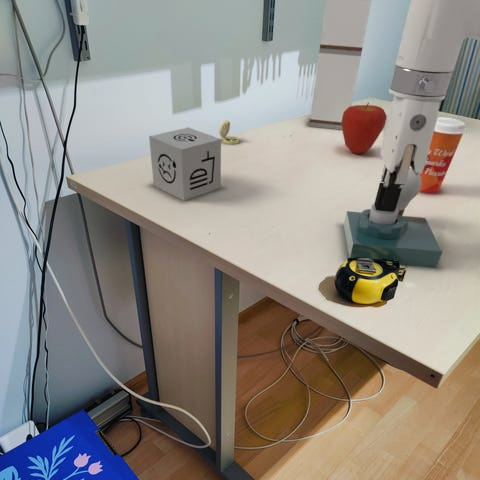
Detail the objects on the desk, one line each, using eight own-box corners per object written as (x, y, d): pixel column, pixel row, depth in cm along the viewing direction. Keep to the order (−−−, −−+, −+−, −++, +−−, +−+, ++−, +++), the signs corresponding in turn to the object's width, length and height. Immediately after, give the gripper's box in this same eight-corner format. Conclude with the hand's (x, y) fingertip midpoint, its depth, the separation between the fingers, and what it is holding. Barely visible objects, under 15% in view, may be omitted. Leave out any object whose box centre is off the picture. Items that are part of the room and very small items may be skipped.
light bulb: (405, 230, 78) (422, 177, 72) (374, 222, 80) (388, 169, 74) (412, 218, 82) (429, 167, 76) (382, 210, 84) (396, 160, 78)
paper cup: (405, 190, 93) (425, 122, 84) (410, 179, 98) (430, 114, 89) (442, 198, 90) (467, 129, 81) (445, 186, 96) (469, 120, 87)
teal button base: (420, 232, 78) (428, 207, 74) (436, 267, 68) (447, 240, 65) (343, 226, 78) (349, 200, 75) (349, 259, 69) (355, 232, 66)
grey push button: (392, 217, 72) (396, 204, 71) (397, 229, 69) (401, 215, 67) (366, 215, 73) (369, 202, 71) (369, 226, 69) (373, 213, 68)
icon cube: (220, 188, 90) (221, 139, 83) (183, 200, 84) (181, 149, 78) (190, 174, 95) (188, 127, 89) (153, 185, 89) (149, 136, 83)
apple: (357, 143, 118) (367, 95, 110) (386, 155, 111) (399, 105, 103) (327, 149, 113) (335, 99, 105) (356, 161, 106) (367, 109, 98)
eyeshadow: (234, 145, 112) (234, 125, 109) (218, 141, 114) (218, 122, 111) (242, 140, 115) (243, 121, 112) (226, 137, 117) (226, 118, 114)
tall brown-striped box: (347, 121, 135) (374, -19, 113) (346, 130, 127) (375, -18, 105) (312, 117, 137) (331, -21, 115) (309, 126, 129) (329, -21, 107)
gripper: (464, 97, 52) (417, 232, 63) (434, 75, 63) (399, 192, 75) (401, 92, 52) (366, 227, 64) (383, 71, 64) (356, 189, 75)
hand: (384, 208), depth 69 cm, fingers closed
